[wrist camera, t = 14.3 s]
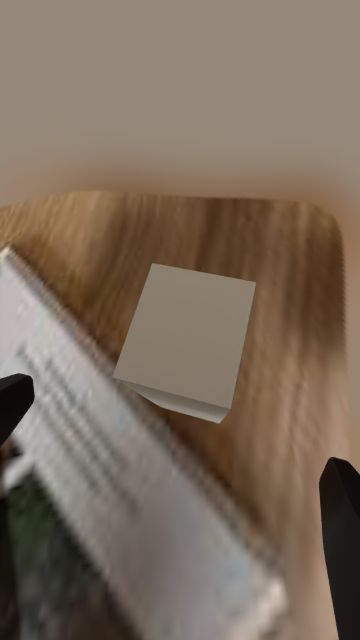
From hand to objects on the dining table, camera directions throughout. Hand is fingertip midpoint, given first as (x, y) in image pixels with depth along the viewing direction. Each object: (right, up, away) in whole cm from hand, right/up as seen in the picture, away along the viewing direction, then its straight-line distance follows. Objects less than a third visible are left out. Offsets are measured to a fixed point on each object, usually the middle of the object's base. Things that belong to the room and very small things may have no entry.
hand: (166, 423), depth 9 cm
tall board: (+2, -1, +9) cm, 9 cm away
